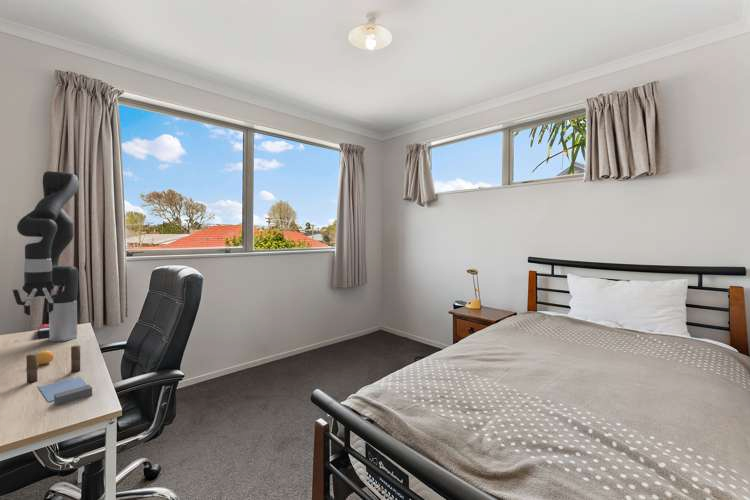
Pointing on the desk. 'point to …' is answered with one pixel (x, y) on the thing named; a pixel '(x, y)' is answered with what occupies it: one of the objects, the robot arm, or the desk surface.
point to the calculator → (43, 331)
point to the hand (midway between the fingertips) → (38, 313)
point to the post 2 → (75, 358)
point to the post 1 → (31, 368)
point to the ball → (45, 357)
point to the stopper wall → (72, 395)
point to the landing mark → (61, 387)
